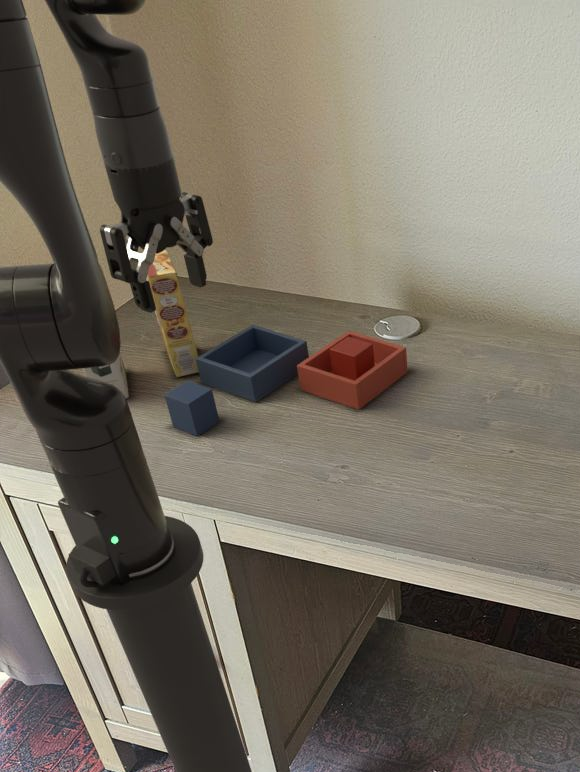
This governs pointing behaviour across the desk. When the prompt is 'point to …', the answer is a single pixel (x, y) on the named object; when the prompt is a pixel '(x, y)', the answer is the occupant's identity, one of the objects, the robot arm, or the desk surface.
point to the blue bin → (252, 362)
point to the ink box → (110, 375)
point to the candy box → (172, 315)
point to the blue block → (192, 408)
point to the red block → (352, 358)
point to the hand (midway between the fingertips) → (174, 297)
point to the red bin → (346, 391)
